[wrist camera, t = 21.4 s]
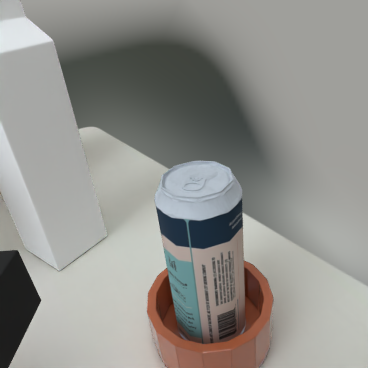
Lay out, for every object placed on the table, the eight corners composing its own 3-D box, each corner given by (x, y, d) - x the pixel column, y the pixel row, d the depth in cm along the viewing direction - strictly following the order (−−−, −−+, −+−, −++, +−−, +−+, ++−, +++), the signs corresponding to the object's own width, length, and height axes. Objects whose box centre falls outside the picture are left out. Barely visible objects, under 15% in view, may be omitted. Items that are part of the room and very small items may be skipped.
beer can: (250, 303, 26) (248, 158, 20) (240, 363, 22) (232, 206, 16) (188, 293, 27) (168, 155, 21) (168, 347, 23) (137, 198, 17)
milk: (25, 249, 35) (-85, 7, 24) (74, 218, 39) (-2, -3, 28) (60, 272, 32) (-50, 2, 21) (110, 235, 36) (40, -9, 25)
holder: (293, 320, 25) (295, 285, 23) (224, 417, 20) (220, 381, 18) (204, 271, 30) (200, 238, 28) (131, 339, 25) (122, 304, 23)
